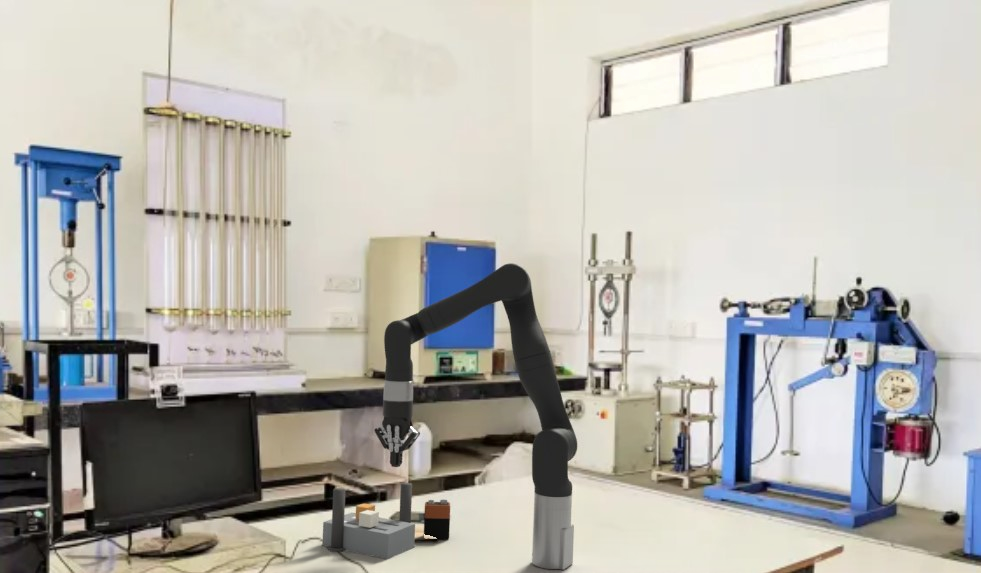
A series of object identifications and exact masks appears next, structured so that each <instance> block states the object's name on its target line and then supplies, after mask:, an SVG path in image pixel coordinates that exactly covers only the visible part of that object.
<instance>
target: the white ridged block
mask: <svg viewBox="0 0 981 573" xmlns="http://www.w3.org/2000/svg"><path fill="white" fill-rule="evenodd" d="M379 515H380V512H379V511H377V510H375V511H370V510H366V511H363V512H360V513H359V526H363V527H369V528H371V527H374V526H376V525H378V521H379Z"/></svg>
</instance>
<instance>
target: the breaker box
mask: <svg viewBox="0 0 981 573" xmlns="http://www.w3.org/2000/svg"><path fill="white" fill-rule="evenodd" d="M331 534H332V518H331V519H327V520H325V521H323V523H322V547H327V548H328V546H330V545H331ZM415 535H416V523H413V522H411V523H408V522H402V521H399V520H396V519H391V518H385V517H379V521H378V525H376V526H374V527H371V528H369V527H363V526H359V519H356V512H349V513H346V514H344V530H343V548H345V551H346V552H351V553H356V554H361V555H365V556H371V557H375V558H382V559H385V560H386V559H387V560H388V559H392V558H393V557H396V556H398V555H400V554H403V553H405V552H407V551H410V550H411V549H413V548H415V541H416V540H415V538H416V537H415Z"/></svg>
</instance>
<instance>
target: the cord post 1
mask: <svg viewBox="0 0 981 573" xmlns="http://www.w3.org/2000/svg"><path fill="white" fill-rule="evenodd" d="M345 505H346V488H342V487H337V488H333V490H332V511H331V512H332V514H331V516H332V517H331V519H332V534H331V545H330V546H328V547H327V550H328V551H329V552H332V553H341V552H345V551H346V550H345V548H343V530H344V515H345V508H346V506H345Z"/></svg>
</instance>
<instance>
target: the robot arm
mask: <svg viewBox="0 0 981 573" xmlns="http://www.w3.org/2000/svg"><path fill="white" fill-rule="evenodd" d="M498 302H502V305H503V308H504V310H505V313H506V316H507V320H508V323H509V324H508V325H509V331H510V340H511V349H512V356H513V359H514V362H515V364H514V365H515V367H516V371H517V375H518V378H519V381H520V384H521V385H522V388H523V389H524V391H525V392H526V394H527V396H528V397H529V398H530V400H531V402H532V403H533V406H534V407H535V409H536V412H537V414H538V415H537V416H538V417H539V422H540V426H541V431H540V432H538V433H537V434H536V435H535V437H534V440H533V443H532V446H531V447H532V448H531V449H532V450H531V477H532V483H533V486H534V497H533V498H534V502H533V523H532V524H533V525H532V551H531V552H532V553H531V556H532V557H531V563H532V565H533V566H535V567H537V568H541V569H547V570H566V569H567V568H569V567H570V566H571V565H573V564H574V563H573V562H574V538H575V535H574V534H575V525H574V524H572V507H573V506H572V503H573V484H572V482H571V481H570V480H569V473H568V470H569V461H571V460H573V458H574V457H575V456H576V455H577V454H576V453H577V450H578V439H577V436H576V434H575V430H574V428H573V425H572V423H571V420H570V418H569V414H568V413H567V410H566V406H565V404H564V401H563V397H562V392H561V388H560V385H559V380H558V378H557V373H556V370H555V365H554V361H553V358H552V354H551V350H550V347H549V344H548V341H547V339H546V335H545V333H544V331H543V329H542V328H543V327H542V326H541V324H540V321H539V318H538V316H537V312H536V306H535V301H534V294H533V289H532V281H531V277H530V275H529V274H528V272H527V269H525V268H524V267H523V266H522V265H519V264H518V263H505V264H503V265H502V266H500V267H499V268H497V269H496V270H494V271H493V272H491V273H490V274H489V275H487V276H485V277H484V278H483V279H481V280H478V281H477V282H476V283H474V284H472V285H471V286H469V287H467V288H464V289H463V290H461V291H458V292H456V293H454V294H452V295H450V296H447V297H445V298H442V299H441V300H438V301H436V302H434V303H432V304H429V305H428V306H426V307H424V308H421V309H420V310H419V311H418V312H417V313H414V314H412V315H409V316H408V317H405V318H402V319H399V320H393V321H391V322H390V323H388V324H387V326H386V328H385V330H384V336H383V343H384V344H383V345H384V354H385V368H384V369H385V371H384V372H385V374H384V376H385V377H384V385H383V386H384V387H383V397H382V398H383V399H382V400H383V402H382V416H383V419H382V421H381V424H380V426H378V427H376V428H374V429H373V430H374V433H375V434H376V436H377V438H378V440H379V442H380V444H381V445H382V447H383V449H384V450H389V452H390V453H389V454H390V455H389V464H390V465H391V466H390V467H392V468H399V467H401V465H402V463H403V455H404V452H405V451H408V450H410V448H412V446H413V444H414V443H415V442H416V440H417V439H418V438H419V437H420V435H421V432H420V431H419V430H416V429H415V428H414V424H413V422H412V417H413V411H414V410H413V405H414V383H413V380H414V379H413V378H414V375H413V374H414V371H413V370H414V363H413V360H412V358H411V357H412V356H411V355H412V354H411V353H412V345H413V344H415V343H417V342H419V341H420V340H421V341H422V340H423V339H424V338H426V337H428V336H430V335H433V334H436V333H438V332H441V331H442V330H445V329H447V328H449V327H451V326H453V325H455V324H458V323H459V322H461V321H462V320H464V319H465V318H468V317H469V316H470V315H472V314H474V313H475V312H477V311H479V310H481V309H482V308H484V307H486V306H489V305H491V304H494V303H498Z"/></svg>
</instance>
